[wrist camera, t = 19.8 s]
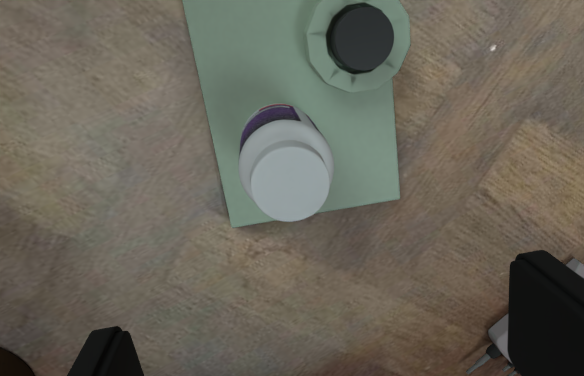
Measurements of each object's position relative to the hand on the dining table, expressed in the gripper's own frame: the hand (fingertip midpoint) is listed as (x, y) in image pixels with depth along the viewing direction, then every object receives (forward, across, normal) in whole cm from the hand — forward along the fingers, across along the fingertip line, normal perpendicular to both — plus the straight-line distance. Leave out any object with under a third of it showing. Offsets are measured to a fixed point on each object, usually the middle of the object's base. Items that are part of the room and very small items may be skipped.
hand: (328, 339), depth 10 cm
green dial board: (+22, -2, -2) cm, 22 cm away
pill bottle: (+21, 0, 0) cm, 21 cm away
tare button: (+20, -6, -6) cm, 21 cm away
